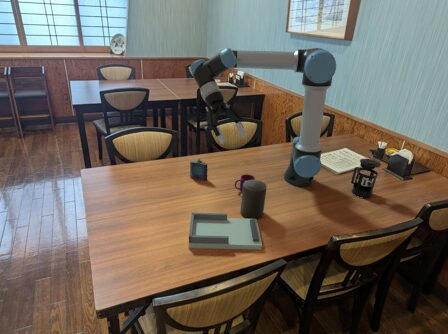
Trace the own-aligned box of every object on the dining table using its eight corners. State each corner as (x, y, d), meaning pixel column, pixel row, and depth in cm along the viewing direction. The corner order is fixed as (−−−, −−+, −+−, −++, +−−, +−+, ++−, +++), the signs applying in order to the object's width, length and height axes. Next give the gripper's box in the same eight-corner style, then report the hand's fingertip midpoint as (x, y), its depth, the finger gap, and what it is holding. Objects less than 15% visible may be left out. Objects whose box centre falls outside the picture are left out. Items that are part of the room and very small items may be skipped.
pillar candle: (256, 222, 124) (261, 190, 118) (236, 214, 129) (239, 183, 122) (266, 212, 132) (271, 181, 125) (246, 204, 136) (250, 174, 130)
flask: (189, 177, 156) (189, 158, 152) (191, 175, 159) (191, 156, 154) (206, 181, 154) (206, 161, 149) (208, 178, 156) (208, 159, 152)
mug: (255, 192, 146) (257, 179, 143) (236, 195, 143) (237, 182, 140) (250, 185, 152) (251, 173, 149) (231, 188, 149) (232, 175, 146)
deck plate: (256, 222, 124) (257, 213, 122) (261, 249, 110) (262, 239, 108) (191, 221, 123) (191, 211, 121) (188, 248, 108) (188, 237, 107)
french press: (377, 196, 149) (390, 152, 139) (365, 201, 144) (378, 156, 134) (356, 185, 158) (367, 144, 148) (344, 189, 153) (355, 147, 143)
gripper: (226, 96, 142) (246, 137, 140) (185, 102, 124) (208, 149, 122) (236, 87, 136) (257, 130, 134) (195, 92, 119) (219, 141, 117)
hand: (234, 139), depth 128 cm, fingers open, 13 cm apart
